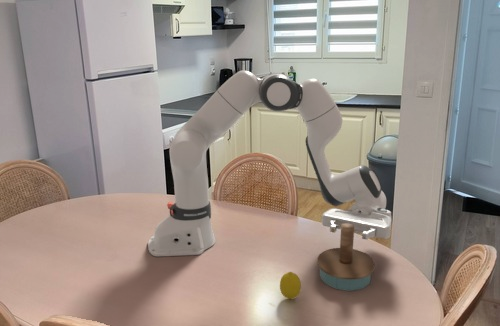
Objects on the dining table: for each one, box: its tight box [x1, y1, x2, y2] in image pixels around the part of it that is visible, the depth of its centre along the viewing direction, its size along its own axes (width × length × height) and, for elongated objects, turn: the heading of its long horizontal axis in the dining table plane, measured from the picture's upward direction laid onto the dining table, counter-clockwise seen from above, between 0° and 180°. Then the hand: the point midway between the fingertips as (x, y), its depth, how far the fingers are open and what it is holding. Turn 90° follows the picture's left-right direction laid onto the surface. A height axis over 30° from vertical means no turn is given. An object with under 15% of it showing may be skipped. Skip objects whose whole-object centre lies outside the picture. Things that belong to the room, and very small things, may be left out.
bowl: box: [319, 268, 372, 292], centre depth 127 cm, size 14×14×4 cm
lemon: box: [279, 271, 302, 300], centre depth 116 cm, size 6×6×8 cm
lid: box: [316, 223, 375, 279], centre depth 124 cm, size 16×16×12 cm
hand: (348, 233), depth 124 cm, fingers open, 8 cm apart
